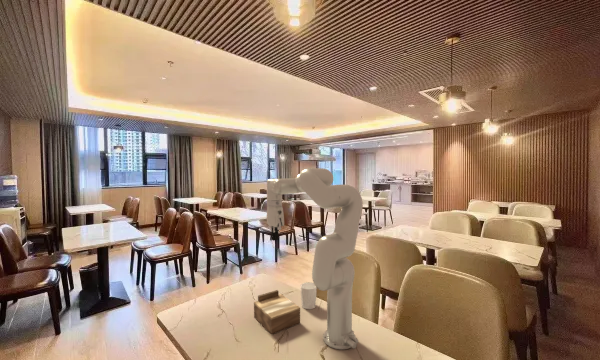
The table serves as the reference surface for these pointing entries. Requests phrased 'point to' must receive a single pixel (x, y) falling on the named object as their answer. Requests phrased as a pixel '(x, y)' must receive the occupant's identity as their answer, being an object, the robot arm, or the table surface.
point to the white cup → (308, 295)
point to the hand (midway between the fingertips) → (274, 239)
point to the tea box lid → (275, 304)
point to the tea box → (276, 320)
